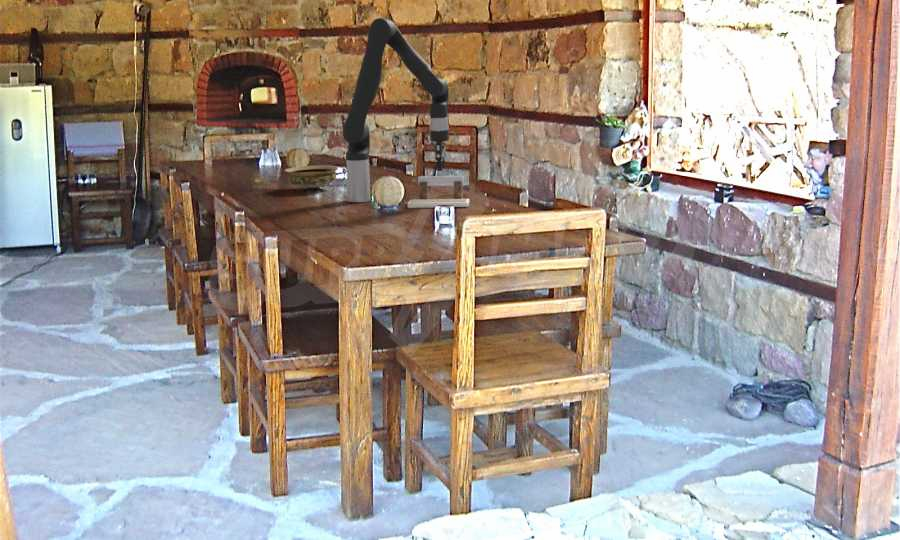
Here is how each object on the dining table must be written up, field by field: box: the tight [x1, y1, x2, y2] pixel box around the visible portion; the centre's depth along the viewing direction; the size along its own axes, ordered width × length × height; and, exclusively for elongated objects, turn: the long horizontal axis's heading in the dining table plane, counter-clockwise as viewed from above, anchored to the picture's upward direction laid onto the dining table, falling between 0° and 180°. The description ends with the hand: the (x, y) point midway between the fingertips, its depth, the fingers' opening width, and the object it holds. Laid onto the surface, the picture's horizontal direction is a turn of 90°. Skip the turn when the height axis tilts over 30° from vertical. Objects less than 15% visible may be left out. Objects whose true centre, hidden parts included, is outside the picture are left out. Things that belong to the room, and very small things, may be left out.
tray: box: [407, 198, 471, 209], centre depth 385 cm, size 24×10×2 cm, turn 84°
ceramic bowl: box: [284, 164, 339, 192], centre depth 439 cm, size 30×24×10 cm
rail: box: [417, 175, 465, 187], centre depth 393 cm, size 18×4×4 cm, turn 84°
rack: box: [418, 182, 464, 199], centre depth 394 cm, size 20×6×9 cm, turn 84°
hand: (440, 169), depth 392 cm, fingers open, 8 cm apart
